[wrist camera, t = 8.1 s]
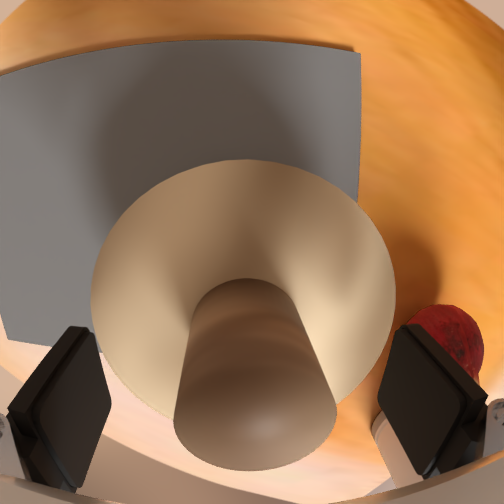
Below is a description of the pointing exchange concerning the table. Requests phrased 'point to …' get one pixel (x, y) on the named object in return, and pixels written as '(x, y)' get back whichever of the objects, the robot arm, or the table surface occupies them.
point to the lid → (244, 307)
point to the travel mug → (393, 453)
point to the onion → (454, 335)
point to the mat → (148, 149)
